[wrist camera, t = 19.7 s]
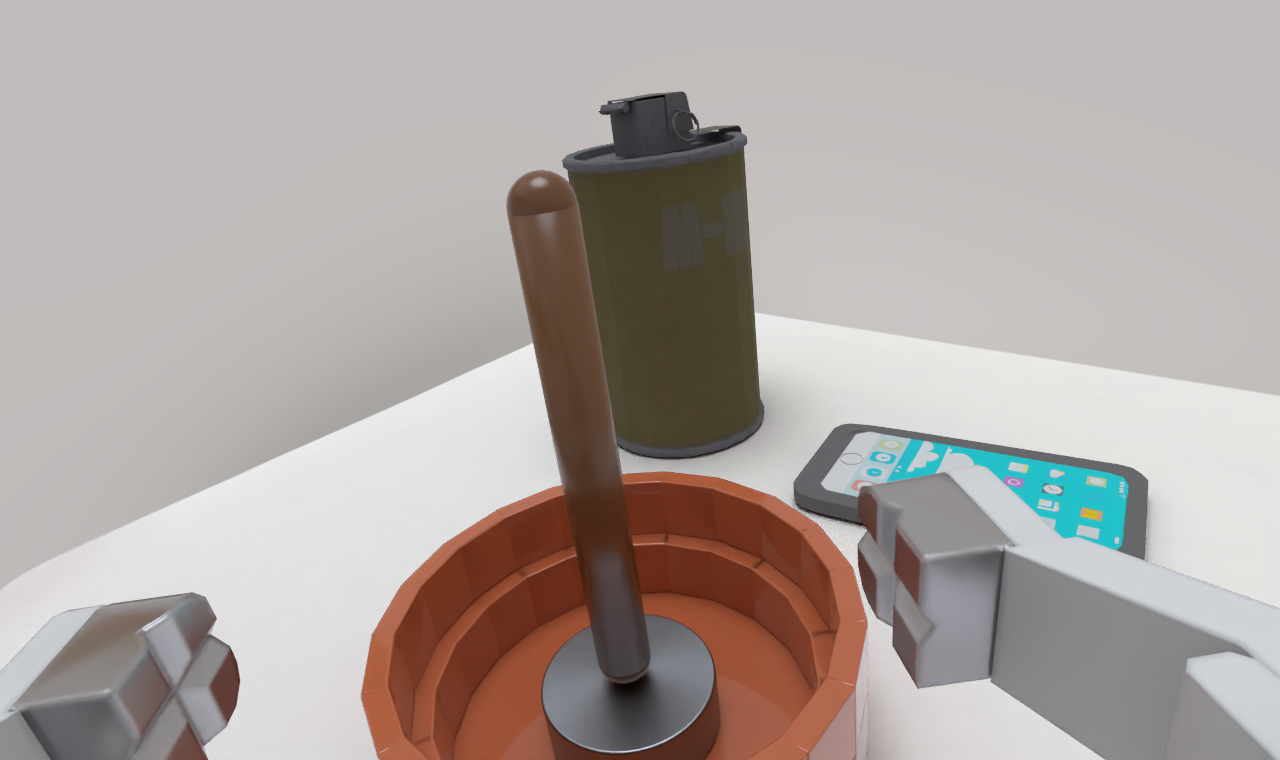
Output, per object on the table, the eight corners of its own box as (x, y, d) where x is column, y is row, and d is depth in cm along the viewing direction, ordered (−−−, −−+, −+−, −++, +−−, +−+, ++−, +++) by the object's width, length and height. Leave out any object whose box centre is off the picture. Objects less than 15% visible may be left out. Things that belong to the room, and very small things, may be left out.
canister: (667, 478, 41) (619, 106, 32) (578, 421, 49) (521, 111, 41) (803, 413, 46) (790, 77, 38) (701, 370, 54) (673, 87, 46)
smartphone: (841, 416, 42) (1149, 464, 34) (841, 430, 43) (1146, 481, 34) (783, 491, 36) (1144, 573, 28) (784, 507, 36) (1140, 593, 28)
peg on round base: (598, 835, 21) (453, 207, 14) (525, 702, 26) (388, 185, 19) (756, 733, 24) (705, 153, 16) (662, 629, 29) (590, 147, 21)
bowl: (510, 1154, 16) (446, 1005, 13) (372, 697, 29) (327, 578, 26) (972, 776, 22) (985, 630, 20) (692, 541, 35) (680, 434, 33)
